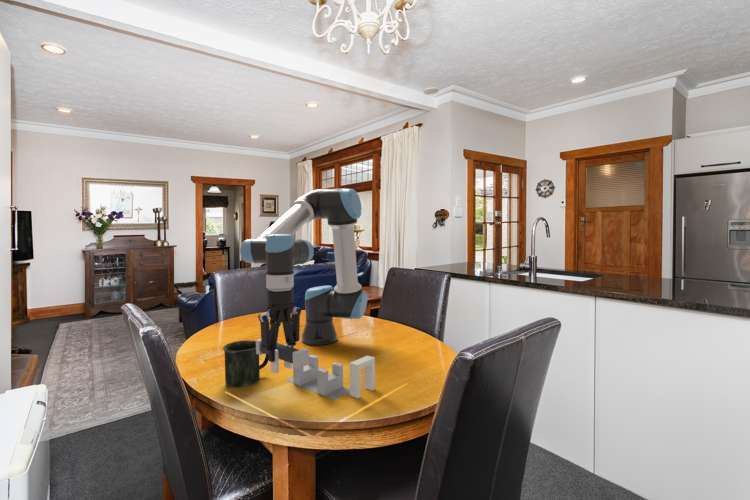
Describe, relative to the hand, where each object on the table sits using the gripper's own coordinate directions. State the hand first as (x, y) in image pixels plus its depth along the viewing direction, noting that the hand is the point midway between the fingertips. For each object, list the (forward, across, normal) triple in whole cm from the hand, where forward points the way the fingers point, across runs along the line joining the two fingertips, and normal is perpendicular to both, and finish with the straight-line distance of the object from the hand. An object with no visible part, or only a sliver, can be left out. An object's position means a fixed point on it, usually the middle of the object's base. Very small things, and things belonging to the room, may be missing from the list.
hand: (281, 369), depth 111 cm
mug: (+9, +1, +19) cm, 21 cm away
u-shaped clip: (+9, +17, -16) cm, 25 cm away
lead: (-3, 0, 0) cm, 3 cm away
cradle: (+9, +12, -2) cm, 15 cm away
